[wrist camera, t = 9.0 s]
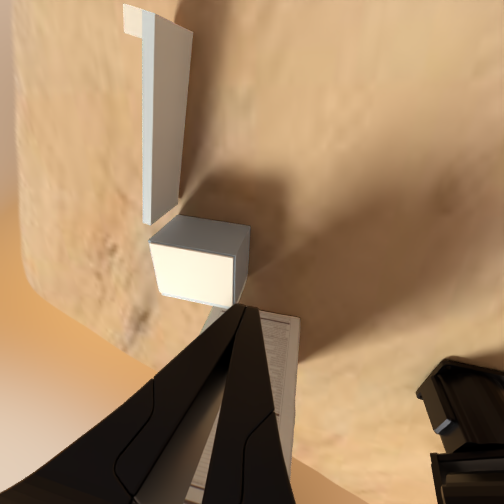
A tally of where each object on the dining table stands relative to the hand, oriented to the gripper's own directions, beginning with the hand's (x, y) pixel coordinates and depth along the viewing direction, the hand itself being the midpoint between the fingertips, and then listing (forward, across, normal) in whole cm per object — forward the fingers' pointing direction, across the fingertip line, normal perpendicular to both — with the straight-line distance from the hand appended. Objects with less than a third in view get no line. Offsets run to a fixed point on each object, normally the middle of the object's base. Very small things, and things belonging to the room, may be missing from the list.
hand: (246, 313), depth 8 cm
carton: (+12, +6, +6) cm, 14 cm away
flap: (+12, +8, -4) cm, 15 cm away
